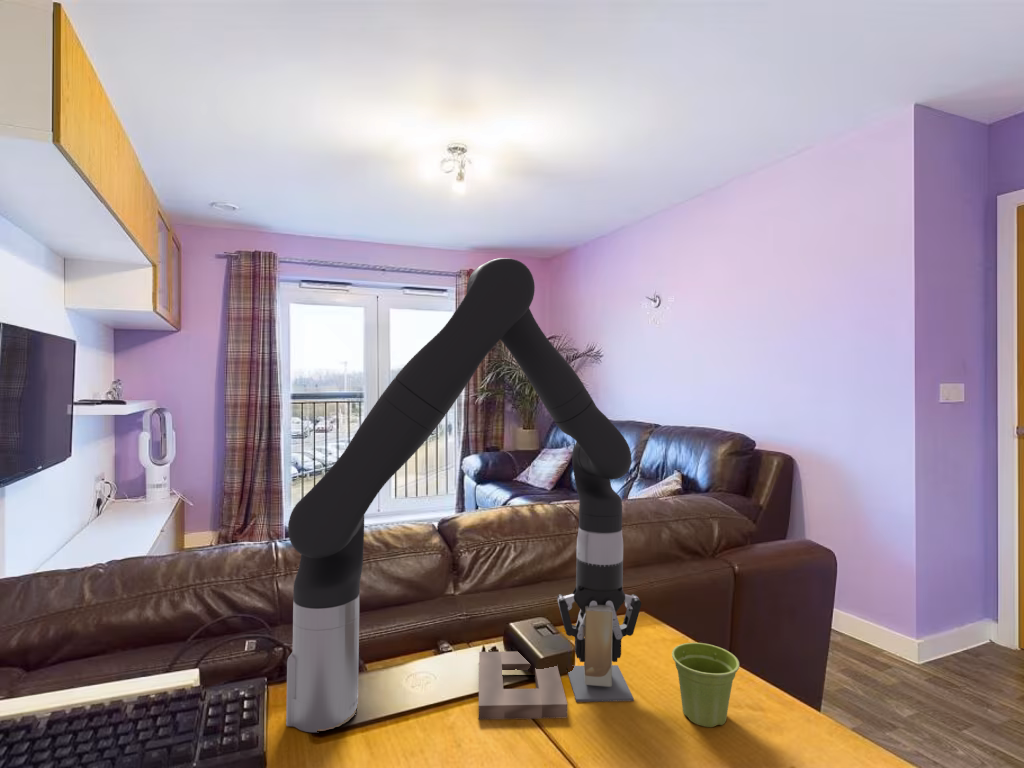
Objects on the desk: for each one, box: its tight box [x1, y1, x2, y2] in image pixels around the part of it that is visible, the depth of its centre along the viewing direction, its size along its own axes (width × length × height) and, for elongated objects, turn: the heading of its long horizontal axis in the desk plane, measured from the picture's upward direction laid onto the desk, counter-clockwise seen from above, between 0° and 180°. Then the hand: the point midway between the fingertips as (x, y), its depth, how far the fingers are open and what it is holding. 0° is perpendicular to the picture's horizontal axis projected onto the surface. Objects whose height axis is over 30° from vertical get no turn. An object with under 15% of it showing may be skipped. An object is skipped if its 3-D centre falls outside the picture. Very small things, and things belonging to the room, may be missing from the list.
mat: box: [567, 664, 635, 703], centre depth 89 cm, size 9×10×1 cm
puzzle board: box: [478, 650, 568, 720], centre depth 87 cm, size 13×16×2 cm
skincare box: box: [583, 605, 613, 687], centre depth 89 cm, size 6×4×12 cm
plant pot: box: [671, 642, 740, 728], centre depth 81 cm, size 9×9×9 cm
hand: (597, 659), depth 89 cm, fingers closed on skincare box, 4 cm apart
